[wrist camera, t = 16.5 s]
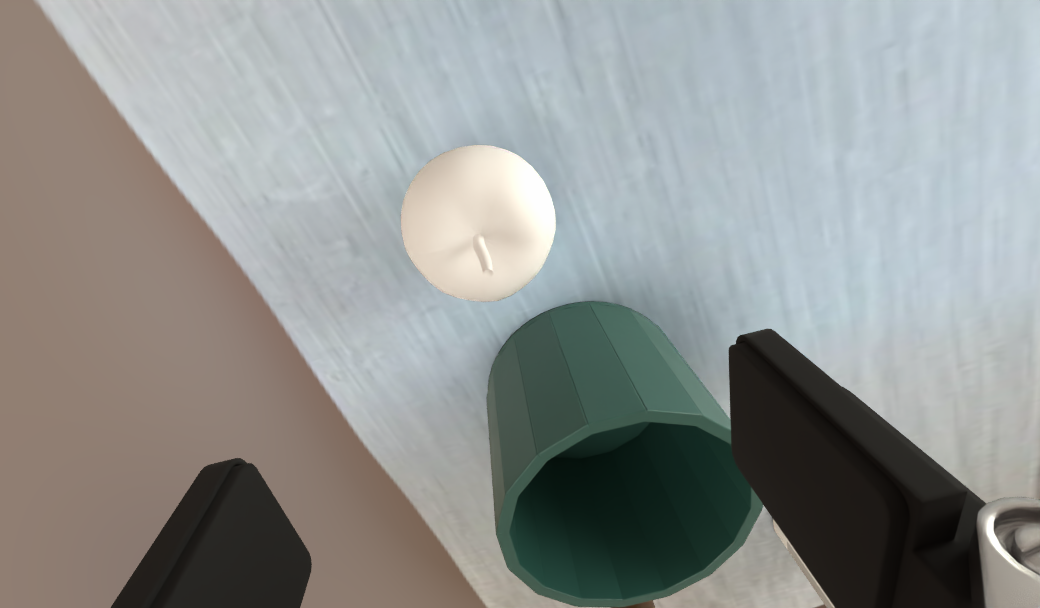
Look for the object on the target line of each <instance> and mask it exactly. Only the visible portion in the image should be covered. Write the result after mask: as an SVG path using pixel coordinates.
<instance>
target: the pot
mask: <svg viewBox="0 0 1040 608" xmlns="http://www.w3.org/2000/svg"><path fill="white" fill-rule="evenodd" d="M487 412H488V426H489V440H490V455H491V469H492V483H493V497H494V511H495V525H496V535H497V538H498V541H499V544H500V547H501V550H502V553H503V556H504V559H505V562H506V565H507V567H508V569H509V570H510V571H511V572H512V573H514V574H515V575H516V576H517V577H518V578H519V579H520V580H522V581H523V582H524V583H525V584H526V585H527V586H529V587H530V588H531V589H532V590H533V591H534V592H535V593H537V594H539V595H542V596H545V597H548V598H551V599H554V600H557V601H560V602H563V603H566V604H570V605H573V606H578V607H626V606H630V605H634V604H639V603H643V602H647V601H651V600H655V599H659V598H664V597H667V596H670V595H672V594H674V593H676V592H678V591H680V590H682V589H684V588H686V587H688V586H690V585H692V584H693V583H695V582H697V581H699V580H701V579H703V578H705V577H707V576H709V575H710V574H712V573H713V572H714V571H715V570H716V569H717V568H719V567H720V566H721V565H722V564H723V563H724V562H725V561H726V560H727V559H728V558H729V557H731V556H732V555H733V554H734V553H735V552H736V551H737V550H738V549H739V548H740V547H741V546H743V544H744V543H745V541H746V539H747V537H748V535H749V533H750V531H751V529H752V528H753V526H754V524H755V522H756V520H757V518H758V516H759V514H760V513H761V511H762V507H763V503H762V502H761V500H760V499H759V498H758V496H757V495H756V493H755V492H754V490H753V489H752V487H751V486H750V485H749V483H748V482H747V480H746V479H745V477H744V476H743V475H742V473H741V472H740V470H739V469H738V467H737V465H736V463H735V461H734V458H733V455H732V449H731V420H730V419H729V417H728V416H727V415H726V413H725V412H724V411H723V409H722V408H721V407H720V406H719V404H718V403H717V402H716V400H715V399H714V398H713V396H712V395H711V394H710V393H709V391H708V390H707V389H706V387H705V386H704V385H703V383H702V382H701V381H700V380H699V378H698V377H697V376H696V374H695V373H694V372H693V370H692V369H691V368H690V367H689V365H688V364H687V363H686V361H685V360H684V359H683V357H682V356H681V355H680V354H679V352H678V351H677V350H676V348H675V347H674V346H673V344H672V343H671V342H670V341H669V339H668V338H667V337H666V335H665V334H664V333H663V331H662V330H661V329H660V328H659V327H658V326H657V325H655V324H654V323H652V322H651V321H650V320H649V319H648V318H646V317H645V316H643V315H642V314H640V313H638V312H636V311H634V310H632V309H630V308H627V307H624V306H621V305H618V304H613V303H607V302H594V301H592V302H578V303H573V304H567V305H564V306H560V307H557V308H554V309H551V310H549V311H547V312H544V313H542V314H540V315H539V316H537V317H535V318H533V319H532V320H530V321H529V322H527V323H526V324H525V325H523V326H522V327H521V328H519V329H518V330H517V331H516V332H515V333H514V334H513V335H512V336H511V337H510V338H509V339H508V341H507V342H506V343H505V344H504V346H503V347H502V349H501V350H500V352H499V353H498V355H497V357H496V359H495V361H494V364H493V366H492V369H491V373H490V376H489V383H488V393H487Z"/></svg>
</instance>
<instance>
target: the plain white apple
mask: <svg viewBox="0 0 1040 608" xmlns="http://www.w3.org/2000/svg"><path fill="white" fill-rule="evenodd" d="M555 229H556V224H555V210H554V206H553V203H552V199H551V196H550V194H549V192H548V190H547V188H546V186H545V184H544V182H543V180H542V179H541V177H540V176H539V175H538V173H537V172H536V171H535V170H534V168H533V167H532V166H531V165H530V164H528V163H527V162H526V161H525V160H523V159H522V158H521V157H520V156H518V155H516V154H514V153H512V152H510V151H508V150H506V149H502V148H498V147H494V146H489V145H472V146H465V147H459V148H456V149H453V150H450V151H447V152H444V153H442V154H441V155H439V156H437V157H436V158H434V159H432V160H431V161H429V162H428V163H427V164H426V165H425V166H424V167H423V168H422V169H421V170H420V171H419V172H418V174H417V175H416V177H415V178H414V180H413V181H412V182H411V184H410V186H409V188H408V190H407V193H406V195H405V198H404V200H403V206H402V212H401V232H402V236H403V241H404V245H405V249H406V251H407V253H408V255H409V257H410V259H411V261H412V262H413V263H414V265H415V266H416V267H417V269H418V270H419V271H420V272H421V274H422V275H423V276H424V277H425V278H426V279H427V280H428V281H429V282H430V283H431V284H432V285H434V286H435V287H436V288H438V289H439V290H440V291H442V292H443V293H446V294H448V295H451V296H453V297H456V298H461V299H466V300H472V301H480V302H489V301H499V300H501V299H504V298H506V297H509V296H511V295H513V294H514V293H516V292H517V291H519V290H520V289H522V288H523V287H524V286H525V285H527V284H528V283H529V282H530V281H531V280H532V279H533V278H534V277H535V276H536V274H537V273H538V272H539V271H540V269H541V268H542V266H543V264H544V262H545V260H546V258H547V256H548V255H549V252H550V249H551V246H552V243H553V239H554V234H555Z"/></svg>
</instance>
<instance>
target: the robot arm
mask: <svg viewBox="0 0 1040 608" xmlns="http://www.w3.org/2000/svg"><path fill="white" fill-rule="evenodd" d="M729 380H730V416H731V449H732V455H733V458H734V461H735V463H736V465H737V467H738V469H739V470H740V472H741V473H742V475H743V476H744V477H745V479H746V480H747V482H748V483H749V485H750V486H751V487H752V489H753V490H754V492H755V493H756V495H757V496H758V498H759V499H760V500H761V502H762V503H763V505H764V506H765V508H766V509H767V510H768V512H769V513H770V515H771V516H772V518H773V519H774V521H775V522H776V523H777V525H778V526H779V528H780V529H781V531H782V532H783V534H784V535H785V536H786V538H787V539H788V541H789V542H790V544H791V545H792V546H793V548H794V549H795V551H796V552H797V554H798V555H799V557H800V558H801V559H802V561H803V562H804V564H805V565H806V567H807V568H808V569H809V571H810V572H811V574H812V575H813V577H814V578H815V580H816V581H817V582H818V584H819V585H820V587H821V588H822V590H823V591H824V593H825V594H826V595H827V597H828V598H829V600H830V601H831V603H832V604H833V605H834V607H835V608H1040V499H1033V498H1027V497H1009V498H1000V499H998V500H995V501H992V502H989V503H987V504H986V503H985V502H984V501H983V500H981V499H980V498H979V497H978V496H977V495H975V494H974V493H973V492H972V491H970V490H969V489H968V488H967V487H966V486H964V485H963V484H962V483H961V482H960V481H958V480H957V479H956V478H955V477H953V476H952V475H951V474H950V473H949V472H947V471H946V470H945V469H944V468H943V467H941V466H940V465H939V464H938V463H936V462H935V461H934V460H933V459H932V458H930V457H929V456H928V455H927V454H926V453H924V452H923V451H922V450H921V449H919V448H918V447H917V446H916V445H915V444H913V443H912V442H911V441H910V440H909V439H907V438H906V437H905V436H904V435H902V434H901V433H900V432H899V431H898V430H896V429H895V428H894V427H893V426H892V425H890V424H889V423H888V422H887V421H885V420H884V419H883V418H882V417H881V416H879V415H878V414H877V413H876V412H875V411H873V410H872V409H871V408H870V407H868V406H867V405H866V404H865V403H864V402H862V401H861V400H860V399H859V398H858V397H856V396H855V395H854V394H853V393H851V392H850V391H848V390H847V389H845V388H844V387H841V386H840V385H839V384H838V383H836V382H835V381H834V380H833V379H832V378H830V377H829V376H828V375H827V374H826V373H824V372H823V371H822V370H821V369H820V368H818V367H817V366H816V365H815V364H814V363H812V362H811V361H810V360H809V359H808V358H806V357H805V356H804V355H803V354H802V353H800V352H799V351H798V350H797V349H796V348H794V347H793V346H792V345H791V344H789V343H788V342H787V341H786V340H785V339H783V338H782V337H781V336H780V335H779V334H777V333H776V332H775V331H773V330H772V329H764V330H760V331H756V332H752V333H748V334H744V335H740V336H739V337H738V338H737V340H736V344H735V345H732V346H730V348H729ZM311 565H312V564H311V557H310V554H309V552H308V550H307V548H306V547H305V545H304V543H303V542H302V540H301V539H300V537H299V535H298V534H297V532H296V531H295V529H294V528H293V526H292V524H291V523H290V521H289V519H288V518H287V516H286V515H285V513H284V511H283V510H282V508H281V506H280V505H279V503H278V502H277V500H276V498H275V497H274V496H273V494H272V492H271V490H270V489H269V487H268V486H267V484H266V482H265V481H264V479H263V478H262V476H261V474H260V473H259V471H258V469H257V468H256V467H255V466H254V465H253V464H251V463H246V462H245V461H244V460H243V459H241V458H235V459H231V460H227V461H223V462H219V463H214V464H211V465H208V466H206V467H204V468H203V469H202V470H201V471H200V473H199V474H198V476H197V477H196V479H195V480H194V482H193V484H192V485H191V487H190V488H189V490H188V491H187V493H186V494H185V496H184V497H183V499H182V500H181V502H180V503H179V505H178V507H177V508H176V509H175V511H174V512H173V514H172V515H171V517H170V518H169V520H168V521H167V523H166V524H165V526H164V527H163V529H162V530H161V532H160V534H159V535H158V537H157V538H156V540H155V541H154V543H153V544H152V546H151V547H150V549H149V550H148V552H147V553H146V555H145V556H144V558H143V559H142V561H141V563H140V564H139V565H138V567H137V568H136V570H135V571H134V573H133V574H132V576H131V577H130V579H129V580H128V582H127V584H126V585H125V587H124V588H123V590H122V591H121V593H120V594H119V596H118V597H117V599H116V600H115V602H114V603H113V605H112V606H111V608H300V606H301V603H302V599H303V596H304V593H305V590H306V586H307V583H308V580H309V577H310V573H311Z"/></svg>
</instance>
